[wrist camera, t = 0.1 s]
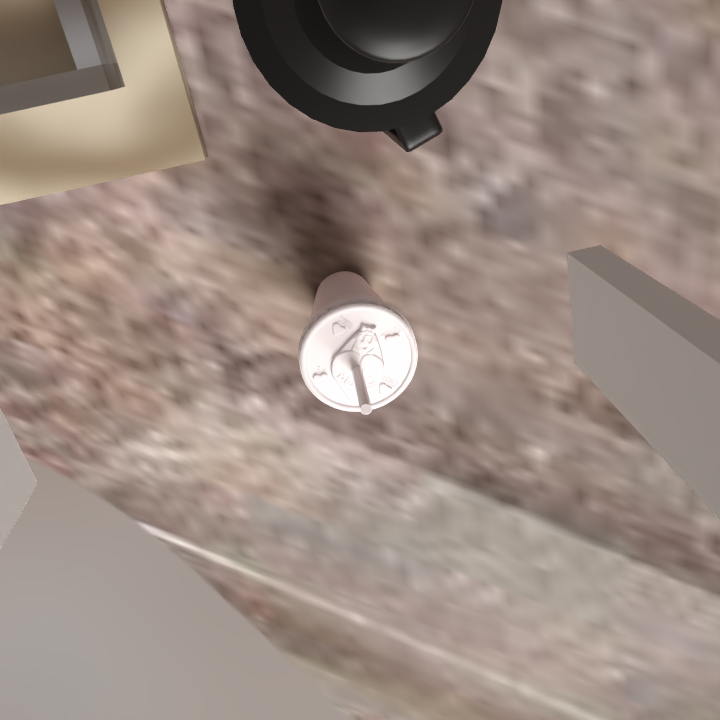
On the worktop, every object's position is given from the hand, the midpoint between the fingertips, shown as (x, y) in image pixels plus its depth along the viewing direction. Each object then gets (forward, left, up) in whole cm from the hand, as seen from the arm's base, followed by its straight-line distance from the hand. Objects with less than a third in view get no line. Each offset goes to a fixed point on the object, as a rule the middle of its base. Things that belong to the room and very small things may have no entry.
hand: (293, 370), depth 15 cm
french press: (-7, +5, -28) cm, 29 cm away
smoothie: (+9, +2, -28) cm, 30 cm away
